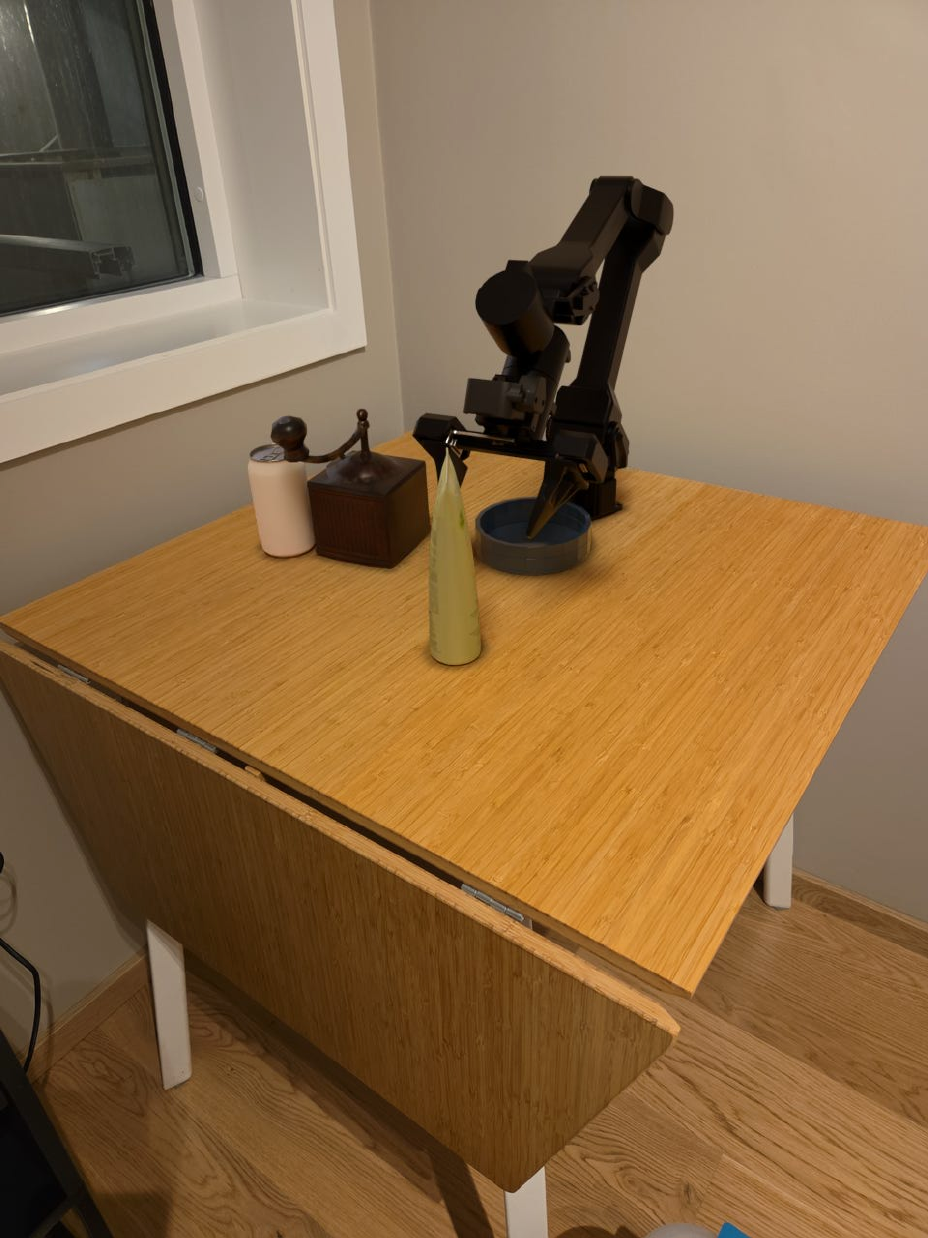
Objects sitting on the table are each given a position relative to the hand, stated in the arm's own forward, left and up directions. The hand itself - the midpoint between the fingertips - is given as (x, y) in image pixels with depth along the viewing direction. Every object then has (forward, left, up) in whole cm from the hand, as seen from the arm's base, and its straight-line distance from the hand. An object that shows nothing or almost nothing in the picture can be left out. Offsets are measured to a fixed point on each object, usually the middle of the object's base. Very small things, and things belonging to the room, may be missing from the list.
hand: (484, 529), depth 86 cm
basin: (-10, +14, -10) cm, 20 cm away
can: (-29, -8, -10) cm, 32 cm away
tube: (+3, -6, -10) cm, 12 cm away
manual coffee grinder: (-22, -2, -10) cm, 24 cm away
